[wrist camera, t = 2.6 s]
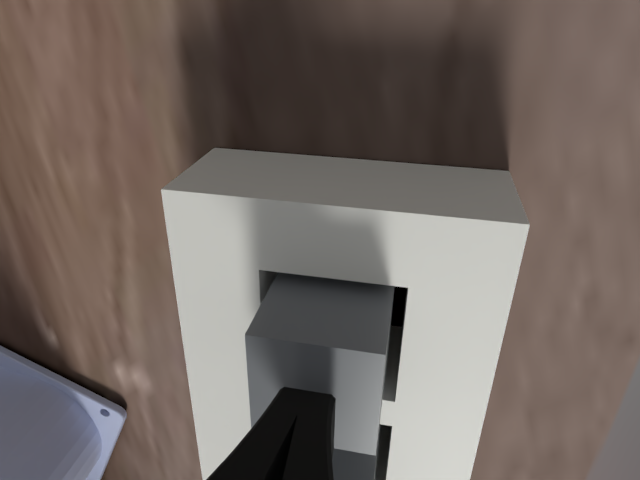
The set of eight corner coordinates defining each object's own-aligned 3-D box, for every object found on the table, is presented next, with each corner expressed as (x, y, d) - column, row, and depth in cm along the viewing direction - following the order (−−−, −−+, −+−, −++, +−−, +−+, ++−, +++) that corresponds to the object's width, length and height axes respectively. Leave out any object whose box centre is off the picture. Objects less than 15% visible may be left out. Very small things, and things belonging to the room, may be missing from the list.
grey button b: (376, 466, 20) (364, 569, 16) (288, 450, 21) (259, 546, 17) (383, 400, 18) (371, 499, 15) (287, 384, 19) (254, 476, 15)
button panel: (433, 544, 25) (433, 634, 22) (245, 506, 27) (217, 583, 24) (509, 171, 16) (529, 224, 13) (214, 147, 18) (160, 189, 14)
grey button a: (387, 359, 17) (375, 455, 14) (286, 345, 18) (251, 433, 15) (396, 271, 16) (385, 355, 12) (284, 258, 16) (244, 334, 13)
